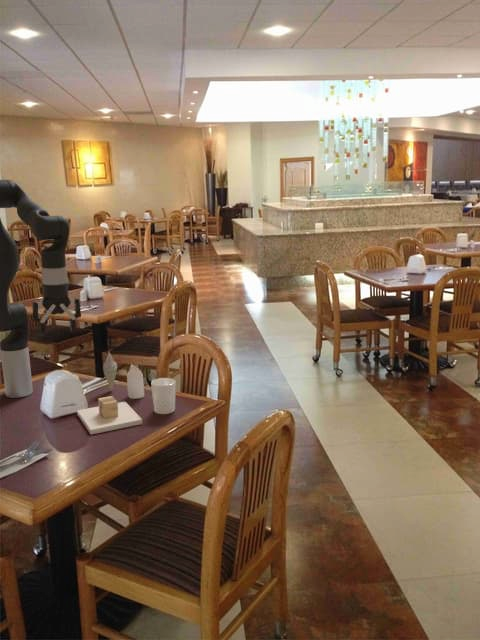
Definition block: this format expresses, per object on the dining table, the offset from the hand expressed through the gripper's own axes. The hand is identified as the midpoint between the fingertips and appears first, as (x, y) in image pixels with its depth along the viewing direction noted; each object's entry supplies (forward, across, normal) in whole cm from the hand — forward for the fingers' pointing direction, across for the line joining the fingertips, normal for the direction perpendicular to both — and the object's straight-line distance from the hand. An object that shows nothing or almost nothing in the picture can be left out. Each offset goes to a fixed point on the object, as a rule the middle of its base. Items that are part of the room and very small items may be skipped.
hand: (58, 332), depth 179 cm
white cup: (+27, -30, +14) cm, 43 cm away
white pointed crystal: (+28, -26, -4) cm, 38 cm away
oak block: (+26, -12, +11) cm, 31 cm away
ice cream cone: (+28, -20, -15) cm, 38 cm away
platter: (+27, -12, +11) cm, 32 cm away
